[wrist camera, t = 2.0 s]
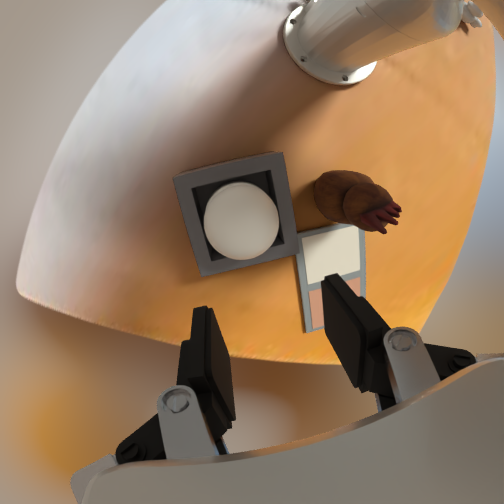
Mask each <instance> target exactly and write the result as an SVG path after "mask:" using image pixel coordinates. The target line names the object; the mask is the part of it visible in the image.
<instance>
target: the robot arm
mask: <svg viewBox="0 0 504 504" xmlns="http://www.w3.org/2000/svg"><path fill="white" fill-rule="evenodd" d="M471 1H472V2H473V3H474V4H476V5H477V7H478V8H479V9H480V10H481V11H482V12H483V13H484V15H485V16H486V17H487V18H488V19H489V20H490V21H491V23H492V24H493V25H494V27H495V28H496V30H497V31H498V32H499V34H500V35H501V37H502V38H503V39H504V0H471ZM463 7H464V0H310V2H309V3H307V4H303V5H301V6H299V7H297V8H296V9H295V10H294V11H292V12H291V14H290V15H289V16H288V18H287V20H286V22H285V24H284V29H283V39H284V43H285V46H286V49H287V51H288V53H289V55H290V56H291V57H292V59H293V60H294V61H295V63H296V64H297V65H298V66H299V67H300V68H301V69H302V70H304V71H305V72H306V73H308V74H309V75H310V76H312V77H314V78H316V79H318V80H320V81H323V82H326V83H328V84H334V85H350V84H355V83H357V82H360V81H362V80H364V79H366V78H367V77H368V76H369V75H370V74H371V73H372V71H373V70H374V68H375V66H376V63H377V61H378V60H381V59H383V58H386V57H388V56H391V55H394V54H396V53H399V52H401V51H404V50H407V49H410V48H413V47H416V46H419V45H422V44H425V43H428V42H431V41H434V40H437V39H440V38H443V37H446V36H448V35H449V34H451V33H452V32H454V31H455V30H456V29H457V27H458V26H459V24H460V22H461V19H462V14H463ZM291 23H292V24H291ZM301 60H303V61H304V62H302V61H301ZM342 78H343V79H342ZM343 80H344V81H343ZM321 291H322V303H323V317H324V329H325V333H326V336H327V338H328V339H329V341H330V343H331V345H332V347H333V349H334V351H335V352H336V354H337V356H338V358H339V360H340V362H341V364H342V366H343V367H344V369H345V371H346V373H347V375H348V377H349V379H350V381H351V383H352V384H353V386H354V388H357V387H359V389H360V391H361V393H364V392H366V391H369V392H373V393H375V398H376V403H377V408H378V413H376V414H374V415H372V416H370V417H367V418H364V419H362V420H359V421H357V422H354V423H351V424H349V425H346V426H343V427H340V428H337V429H335V430H331V431H328V432H325V433H322V434H319V435H315V436H312V437H308V438H305V439H301V440H298V441H294V442H290V443H285V444H281V445H277V446H272V447H267V448H263V449H257V450H252V451H247V452H240V453H233V454H229V452H228V449H227V447H226V444H225V442H224V439H223V437H222V435H223V434H224V433H225V432H226V431H227V429H230V428H232V422H231V421H235V420H236V416H235V406H234V397H233V386H232V375H231V365H230V357H229V353H228V350H227V347H226V345H225V342H224V339H223V337H222V334H221V331H220V328H219V325H218V323H217V320H216V317H215V314H214V311H213V309H212V308H208V307H207V306H202V307H197V308H194V309H193V317H192V327H191V337H190V340H185V341H182V343H181V350H180V358H179V366H178V367H179V368H178V376H177V384H176V386H172V387H171V388H168V389H166V390H165V391H164V392H163V393H162V394H161V395H160V396H159V398H158V401H157V410H158V413H157V414H156V415H155V416H153V417H152V418H151V419H150V420H149V421H147V422H146V423H145V424H144V425H142V426H141V427H140V428H139V429H138V430H136V431H135V432H134V433H132V434H131V435H130V436H129V437H127V438H126V439H125V440H123V442H121V443H120V444H119V446H118V447H117V449H116V454H115V455H113V456H112V455H111V454H108V455H107V456H105V457H103V458H101V459H100V460H98V461H96V462H94V463H92V464H90V465H88V466H86V467H84V468H82V469H80V470H78V471H77V472H75V473H74V474H73V476H72V478H71V482H70V483H71V488H72V490H73V493H74V495H75V498H76V500H77V502H78V504H504V353H503V354H477V355H476V357H474V356H473V355H472V354H471V353H470V352H468V351H467V350H463V349H457V348H450V347H444V346H438V345H431V344H425V343H423V341H422V339H421V337H420V336H419V334H418V333H417V332H416V331H415V330H413V329H411V328H408V327H396V328H393V329H391V328H390V327H389V326H388V325H387V323H386V322H385V321H384V320H383V319H382V318H381V316H380V315H379V314H378V313H377V312H376V311H375V309H374V308H373V307H372V306H371V305H370V304H369V302H368V301H367V300H366V299H365V298H364V297H363V296H359V297H358V296H357V295H356V294H355V293H354V291H353V290H352V289H351V288H350V287H349V286H348V284H347V283H346V282H345V281H344V280H343V279H342V278H341V276H340V275H339V274H338V273H335V274H331V275H327V276H325V277H324V280H322V281H321Z"/></svg>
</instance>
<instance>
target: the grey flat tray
mask: <svg viewBox="0 0 504 504" xmlns="http://www.w3.org/2000/svg"><path fill="white" fill-rule="evenodd" d="M297 237H298V243H299V250H300V254H296V255H295V256H296V263H297V270H298V276H299V284H300V291H301V298H302V306H303V314H304V322H305V330H306V333H309V332H312V331H316V330H319V329H323V328H324V317H323V303H322V291H321V281H322V280H324V277H325V276H327V275H331V274H335V273H338V274H339V275H340V276H341V278H342V279H343V280H344V281H345V282H346V283H347V284H348V286H349V287H350V288H351V289H352V290H353V291H354V293H355V294H356V295H357V296H358V297H359V296H363V297H364V298H366V258H365V231H364V230H361V229H359V228H358V227H356V226H354V225H350V224H341V223H337V224H332V225H328V226H324V227H320V228H315V229H311V230H307V231H302V232H298V233H297Z"/></svg>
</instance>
